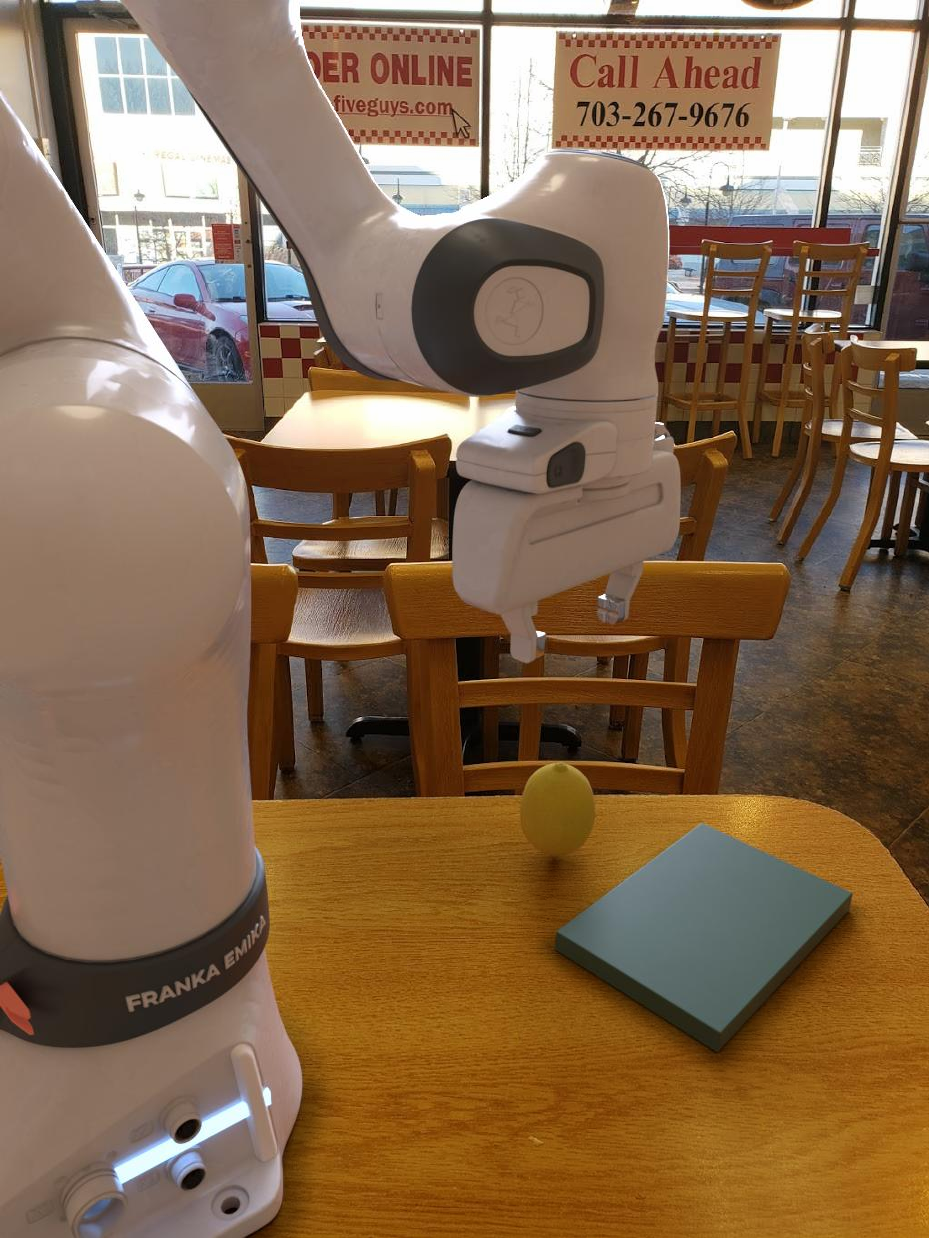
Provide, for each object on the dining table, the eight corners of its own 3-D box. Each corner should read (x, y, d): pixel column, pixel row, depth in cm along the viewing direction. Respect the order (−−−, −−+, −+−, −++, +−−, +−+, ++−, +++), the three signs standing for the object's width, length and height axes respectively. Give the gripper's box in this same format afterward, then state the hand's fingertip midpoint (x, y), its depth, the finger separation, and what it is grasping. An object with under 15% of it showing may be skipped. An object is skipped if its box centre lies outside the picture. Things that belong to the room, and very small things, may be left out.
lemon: (582, 885, 68) (590, 789, 65) (508, 868, 69) (513, 774, 66) (597, 843, 73) (605, 752, 70) (528, 828, 74) (533, 739, 71)
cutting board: (717, 1053, 54) (720, 1033, 53) (554, 949, 61) (555, 931, 61) (849, 910, 66) (853, 892, 65) (699, 838, 74) (701, 822, 73)
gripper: (635, 413, 69) (621, 591, 74) (435, 452, 55) (435, 667, 60) (712, 424, 65) (692, 612, 70) (516, 469, 51) (509, 699, 56)
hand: (571, 638), depth 65 cm, fingers open, 8 cm apart
